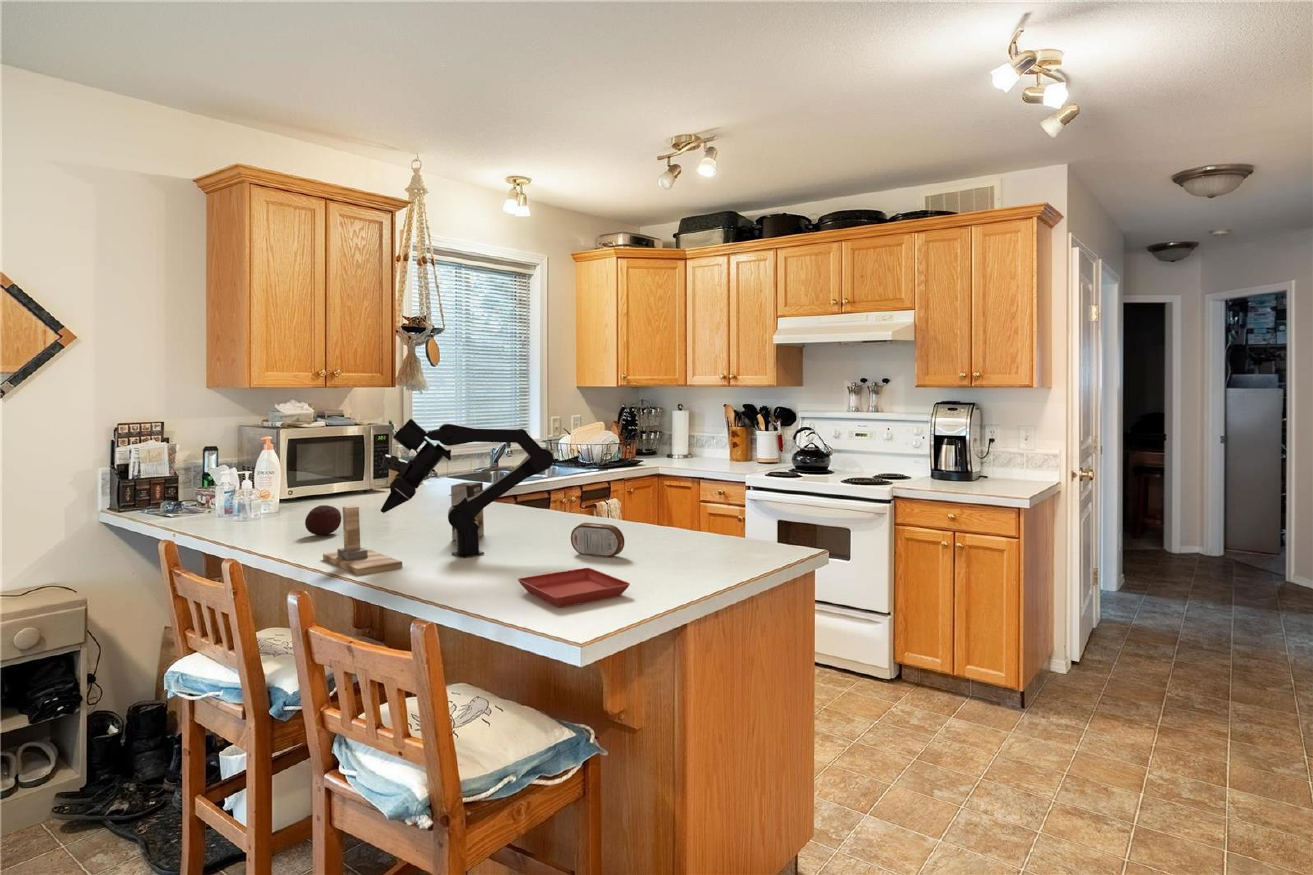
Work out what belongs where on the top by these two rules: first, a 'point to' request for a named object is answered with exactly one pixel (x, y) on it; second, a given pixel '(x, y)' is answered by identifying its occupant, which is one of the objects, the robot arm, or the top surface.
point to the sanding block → (351, 535)
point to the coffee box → (469, 491)
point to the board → (364, 562)
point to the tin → (597, 540)
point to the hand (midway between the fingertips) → (383, 509)
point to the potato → (323, 520)
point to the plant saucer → (574, 586)
